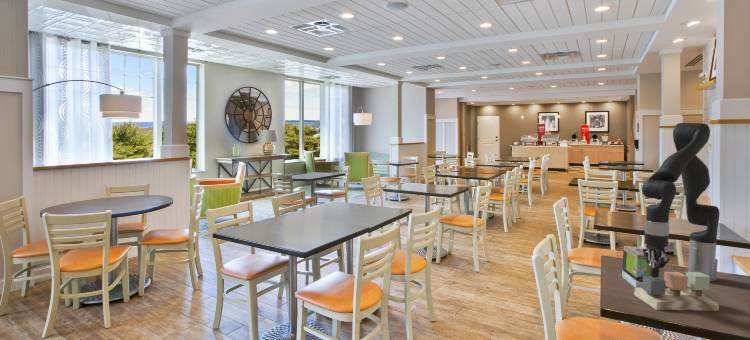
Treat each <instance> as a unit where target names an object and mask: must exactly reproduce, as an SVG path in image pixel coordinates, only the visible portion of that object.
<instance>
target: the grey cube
mask: <svg viewBox="0 0 750 340" xmlns="http://www.w3.org/2000/svg"><path fill="white" fill-rule="evenodd" d="M665 285H666V281H664V278H663V279H661V278H659V277H658V278H654V277H652V276H643V290H645V291H646V292H648V293H649V294H662V295H665V288H666V286H665Z"/></svg>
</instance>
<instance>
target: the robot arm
mask: <svg viewBox="0 0 750 340" xmlns="http://www.w3.org/2000/svg"><path fill="white" fill-rule="evenodd" d="M710 136H711V128H710V127H709V125H708V124H706V123H705V122H704V123H701V122H679V123H676V125H675V126H674V127H673V131H672V137H673V138H672V139H673V142H674V146H675V150H676V152H674V153H672V154H670V155H669V156H668V157H666V158H665V159H664V161H663V162H662V163H661V165H660V166H659V169H658V170H657V171H656V172H654V173H653V174H652V175H651V176H649V177H648V178H647V179H646V180H645V181H644V182H643V184H642V186H641V192H642V195H643V196H644V197H645V198H649V199H656V200H660V202H659V203H658V204H650V205H648V206H647V207H646V215H645V218H646V220H645V225H644V239H643V241H644V244H645V245H646V247H647V248H646V249H643V253H644V256H645V259H646V262H647V263H648V264H649V265H650V267H651V270H650V271H651V272H650V276H652V277H654V278H658V277H659V268H662V269H664V268H665V266H666V265H667V264H668V263H669V262H670V257H667V256H666V247H668V246H669V240H670V239H669V237H670V224H669V221H670V210H671V207H672V205H673V201H674V199H675V197H676V194H677V186H676V184H675V182H677V181H678V180H679V178H680V177H681V180H682V185H683V190H684V195H685V207H686V208H685V209H686V211H685V212H686V219H687V221H688V223H690V224H692V225H696V226H703V227H706V229H704V230H701V231H700V230H699V231H694V232H691V233H690V235H689V249H688V264H687V272H701V273H703V274H705V275H707V276H709V277H710V283H711V282H714V281H715V282H716V281H717V276H718V274H717V273H718V263H719V262H718V259H717V258H716V256H717V255H716V254H717V253H716V252H717V239H718V230H719V228H718V227H719V220H720V213H721V212H720V209H719V207H718V206H717V205H716V206H715V205H708V204H700V203H698V199H699V198H700V196H701V195H702V194H703V193H704V192H705V191H706V190H707V189H708V187H709V186H710V183H711V180H710V179H711V178H710V170H709V167H708V166H707V165H706V164H705V162H704V161H703V160H701V158H700V157H698V156H697V154H698V153H699V152H701V150H702V149H703V148H704V147H705V146H706V144H707V143H708V141H709V139H710Z"/></svg>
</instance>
